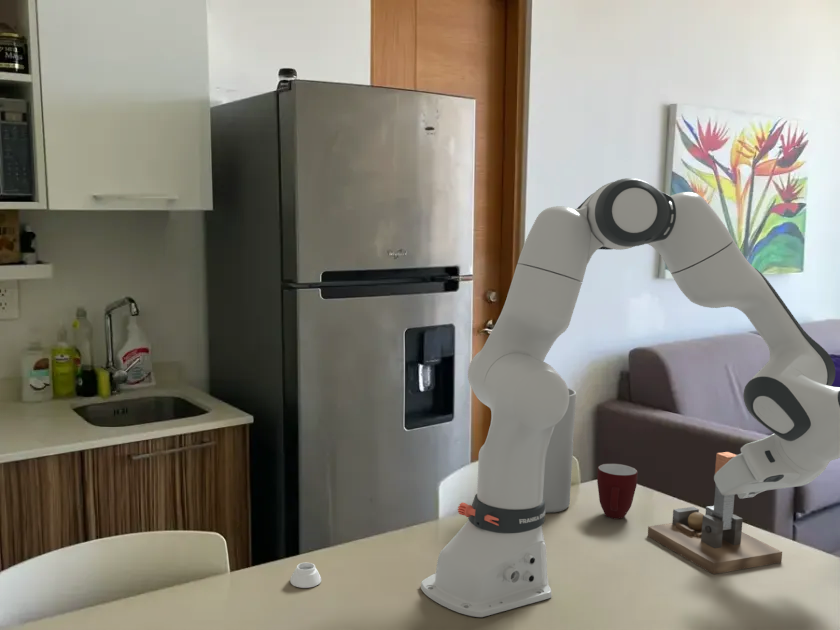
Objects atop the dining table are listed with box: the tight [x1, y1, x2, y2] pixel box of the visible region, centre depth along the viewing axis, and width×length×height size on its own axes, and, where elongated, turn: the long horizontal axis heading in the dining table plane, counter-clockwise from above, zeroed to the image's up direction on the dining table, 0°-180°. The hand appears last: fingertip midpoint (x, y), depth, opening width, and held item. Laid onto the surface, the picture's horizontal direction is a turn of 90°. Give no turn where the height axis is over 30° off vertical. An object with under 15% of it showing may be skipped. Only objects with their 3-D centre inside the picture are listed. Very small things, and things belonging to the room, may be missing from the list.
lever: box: [704, 451, 738, 530], centre depth 151 cm, size 3×5×14 cm, turn 23°
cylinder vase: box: [543, 387, 577, 514], centre depth 173 cm, size 12×12×25 cm
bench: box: [647, 506, 783, 575], centre depth 153 cm, size 16×18×7 cm
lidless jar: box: [289, 561, 322, 589], centre depth 133 cm, size 5×3×5 cm
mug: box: [596, 463, 638, 520], centre depth 167 cm, size 11×8×10 cm
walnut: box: [688, 512, 704, 531], centre depth 157 cm, size 4×4×4 cm
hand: (743, 494), depth 146 cm, fingers closed
